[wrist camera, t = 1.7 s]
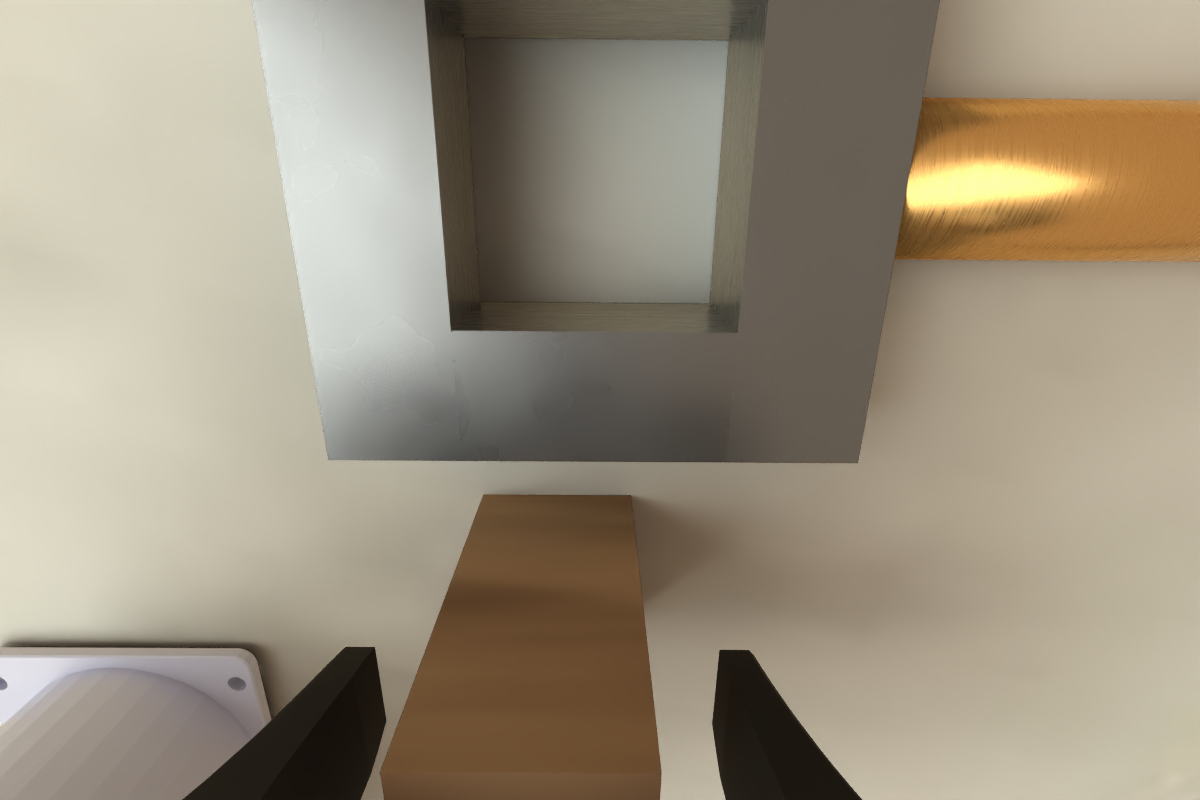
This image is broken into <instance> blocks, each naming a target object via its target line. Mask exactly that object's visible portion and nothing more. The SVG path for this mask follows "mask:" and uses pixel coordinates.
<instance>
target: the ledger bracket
mask: <svg viewBox="0 0 1200 800" xmlns="http://www.w3.org/2000/svg"><path fill="white" fill-rule="evenodd" d="M939 2H940V0H252V5H253V11H254V17H255V23H256V29H257V35H258V41H259V47H260V53H261V59H262V65H263V71H264V77H265V83H266V89H267V95H268V101H269V107H270V113H271V119H272V125H273V131H274V137H275V143H276V149H277V155H278V161H279V167H280V173H281V179H282V185H283V191H284V197H285V203H286V209H287V215H288V221H289V227H290V233H291V239H292V245H293V251H294V258H295V264H296V270H297V276H298V282H299V288H300V294H301V300H302V306H303V312H304V318H305V324H306V330H307V336H308V342H309V348H310V354H311V360H312V366H313V372H314V378H315V384H316V390H317V396H318V402H319V408H320V414H321V420H322V426H323V432H324V438H325V444H326V450H327V456H328V460H423V461H589V462H756V463H858V460H859V455H860V449H861V443H862V438H863V432H864V426H865V421H866V415H867V409H868V404H869V398H870V392H871V387H872V381H873V376H874V370H875V364H876V359H877V353H878V347H879V342H880V336H881V330H882V325H883V319H884V313H885V308H886V302H887V296H888V291H889V285H890V279H891V274H892V268H893V262H894V259H930V260H1050V261H1171V262H1200V101H1188V100H1089V99H990V98H923V93H924V87H925V81H926V76H927V70H928V65H929V59H930V53H931V48H932V42H933V36H934V31H935V25H936V19H937V14H938V8H939ZM464 37H474V38H568V39H661V40H729V46H728V60H727V74H726V88H725V101H724V115H723V129H722V142H721V156H720V170H719V183H718V197H717V211H716V224H715V238H714V252H713V265H712V279H711V293H710V304H685V303H556V302H480V287H479V271H478V254H477V238H476V222H475V206H474V190H473V173H472V157H471V141H470V125H469V109H468V92H467V76H466V60H465V44H464Z"/></svg>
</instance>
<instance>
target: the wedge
mask: <svg viewBox="0 0 1200 800" xmlns="http://www.w3.org/2000/svg"><path fill="white" fill-rule="evenodd" d="M380 775H381V781H382V787H383V793H384V799H385V800H660V789H661V764H660V755H659V746H658V737H657V728H656V719H655V709H654V700H653V691H652V682H651V673H650V664H649V655H648V646H647V637H646V628H645V619H644V610H643V600H642V591H641V582H640V573H639V564H638V555H637V546H636V537H635V528H634V519H633V510H632V501H631V495H483V497H482V500H481V503H480V505H479V508H478V511H477V513H476V516H475V519H474V521H473V524H472V527H471V529H470V532H469V535H468V537H467V540H466V543H465V546H464V548H463V551H462V554H461V556H460V559H459V562H458V564H457V567H456V570H455V572H454V575H453V578H452V580H451V583H450V586H449V588H448V591H447V594H446V596H445V599H444V602H443V605H442V607H441V610H440V613H439V615H438V618H437V621H436V623H435V626H434V629H433V631H432V634H431V637H430V639H429V642H428V645H427V647H426V650H425V653H424V656H423V658H422V661H421V664H420V666H419V669H418V672H417V674H416V677H415V680H414V682H413V685H412V688H411V690H410V693H409V696H408V698H407V701H406V704H405V707H404V709H403V712H402V715H401V717H400V720H399V723H398V725H397V728H396V731H395V733H394V736H393V739H392V741H391V744H390V747H389V749H388V752H387V755H386V758H385V760H384V763H383V766H382V768H381V771H380Z"/></svg>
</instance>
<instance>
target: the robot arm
mask: <svg viewBox="0 0 1200 800" xmlns="http://www.w3.org/2000/svg"><path fill="white" fill-rule="evenodd" d="M240 678H241V679H240ZM242 679H243V680H242ZM0 722H1V724H2V726H1V727H0V800H360V799H361V797H362V794H363V792H364V790H365V787H366V785H367V782H368V780H369V777H370V775H371V772H372V768H373V765H374V762H375V759H376V755H377V752H378V749H379V745H380V742H381V738H382V735H383V731H384V728H385V724H386V716H385V709H384V703H383V696H382V690H381V684H380V677H379V671H378V665H377V658H376V652H375V647H345V648H344V649H343V650H342V651H341V652H340V653H339V654H338V655H337V656H336V657H335V658H334V659H333V660H332V661H331V662H330V663H329V664H328V665H327V666H326V667H325V668H324V669H323V670H322V671H321V672H320V673H319V674H318V675H317V676H316V677H315V678H314V679H313V680H312V681H311V682H310V683H309V684H308V685H307V686H306V687H305V688H304V689H303V690H302V691H301V692H300V693H299V694H298V695H297V696H296V697H295V698H294V699H293V700H292V701H291V702H290V703H289V704H288V705H286V706H285V707H284V708H283V709H282V710H281V711H280V712H279V713H278V714H277V715H276V716H275V717H274V718H273V719H272V720H271V716H270V712H269V708H268V704H267V700H266V695H265V691H264V687H263V683H262V679H261V675H260V671H259V667H258V663H257V660H256V658H255V656H254V655H253V654H252V653H251V652H249V651H247V650H245V649H239V648H48V647H0ZM712 725H713V732H714V739H715V746H716V753H717V759H718V766H719V772H720V778H721V782H722V786H723V790H724V794H725V798H726V800H862V799H861V798H860V797H859V795H858V794H857V793H856V792H855V791H854V790H853V789H852V787H851V786H850V785H849V784H848V783H847V781H846V780H845V779H844V778H843V777H842V776H841V774H840V773H839V772H838V771H837V770H836V768H835V767H834V766H833V765H832V764H831V762H830V761H829V760H828V759H827V757H826V756H825V755H824V754H823V752H822V751H821V750H820V749H819V747H818V746H817V745H816V743H815V742H814V741H813V739H812V738H811V737H810V735H809V734H808V733H807V731H806V730H805V729H804V728H803V726H802V725H801V724H800V722H799V721H798V720H797V718H796V717H795V715H794V714H793V713H792V711H791V710H790V709H789V707H788V706H787V704H786V703H785V701H784V700H783V699H782V697H781V696H780V694H779V693H778V691H777V690H776V689H775V687H774V686H773V684H772V683H771V681H770V680H769V678H768V677H767V675H766V674H765V672H764V670H763V669H762V667H761V666H760V664H759V663H758V661H757V660H756V658H755V656H754V655H753V654H752V653H751V652H750V651H749V650H720V652H719V662H718V672H717V682H716V692H715V702H714V712H713V722H712Z"/></svg>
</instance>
